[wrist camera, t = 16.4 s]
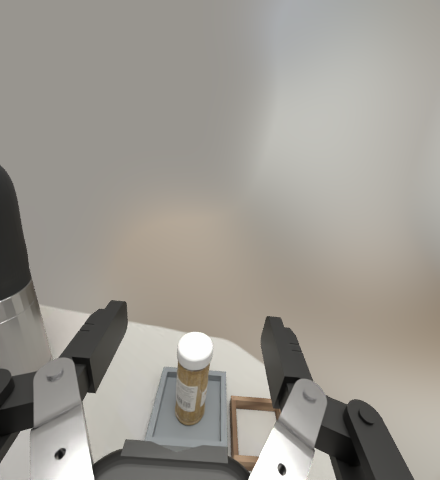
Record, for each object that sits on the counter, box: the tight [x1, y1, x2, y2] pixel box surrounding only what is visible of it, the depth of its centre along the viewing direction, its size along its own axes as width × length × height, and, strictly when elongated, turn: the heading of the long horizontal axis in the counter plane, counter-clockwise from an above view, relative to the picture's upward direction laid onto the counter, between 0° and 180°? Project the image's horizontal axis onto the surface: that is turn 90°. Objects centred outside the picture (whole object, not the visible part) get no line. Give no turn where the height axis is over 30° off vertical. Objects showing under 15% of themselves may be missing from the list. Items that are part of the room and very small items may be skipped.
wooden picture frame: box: [230, 396, 281, 471], centre depth 32 cm, size 8×8×2 cm
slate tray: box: [145, 367, 227, 452], centre depth 34 cm, size 11×11×2 cm
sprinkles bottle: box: [175, 332, 213, 425], centre depth 31 cm, size 5×5×13 cm
